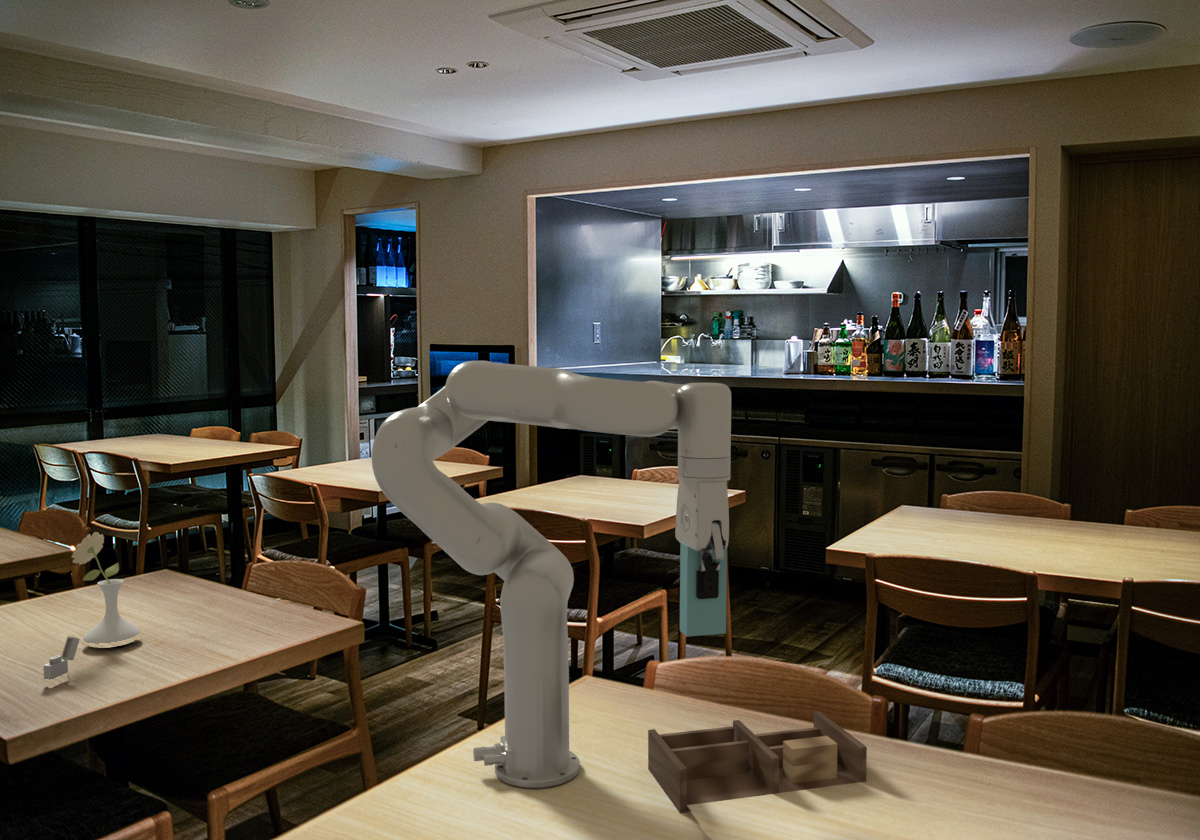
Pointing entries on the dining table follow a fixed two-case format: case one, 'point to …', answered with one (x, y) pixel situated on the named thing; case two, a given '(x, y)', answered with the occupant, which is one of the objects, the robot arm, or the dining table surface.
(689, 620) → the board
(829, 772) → the offcut lower
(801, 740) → the offcut upper
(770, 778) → the rack
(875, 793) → the dining table surface
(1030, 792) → the dining table surface
